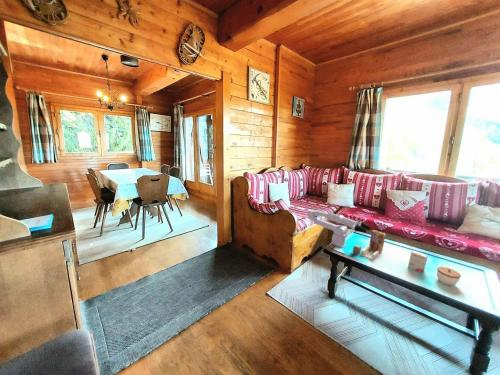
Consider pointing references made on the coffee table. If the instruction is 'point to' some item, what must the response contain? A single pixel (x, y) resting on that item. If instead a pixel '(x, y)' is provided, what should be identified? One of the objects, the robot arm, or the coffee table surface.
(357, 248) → the connector plug
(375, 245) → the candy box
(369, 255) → the end holder
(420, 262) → the ink box
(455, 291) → the coffee table surface
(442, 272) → the lidded jar
